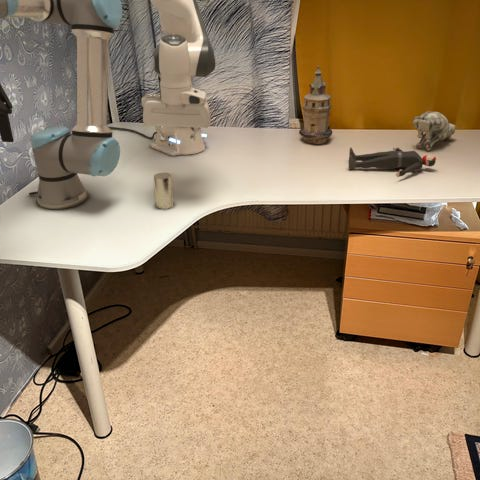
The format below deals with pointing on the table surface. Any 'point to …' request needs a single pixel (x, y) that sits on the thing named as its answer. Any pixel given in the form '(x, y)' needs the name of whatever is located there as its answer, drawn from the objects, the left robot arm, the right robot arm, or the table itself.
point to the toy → (391, 160)
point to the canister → (163, 190)
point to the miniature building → (316, 112)
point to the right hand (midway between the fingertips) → (177, 139)
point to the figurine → (432, 128)
